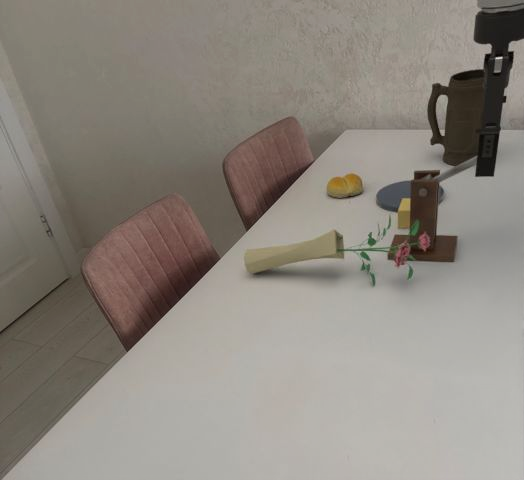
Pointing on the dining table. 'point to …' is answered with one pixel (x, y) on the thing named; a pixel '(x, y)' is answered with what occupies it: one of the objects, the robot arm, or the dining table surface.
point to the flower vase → (327, 251)
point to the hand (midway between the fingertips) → (486, 160)
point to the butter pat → (404, 213)
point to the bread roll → (345, 186)
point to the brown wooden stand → (426, 222)
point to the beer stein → (459, 115)
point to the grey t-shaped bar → (454, 170)
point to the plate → (397, 195)
